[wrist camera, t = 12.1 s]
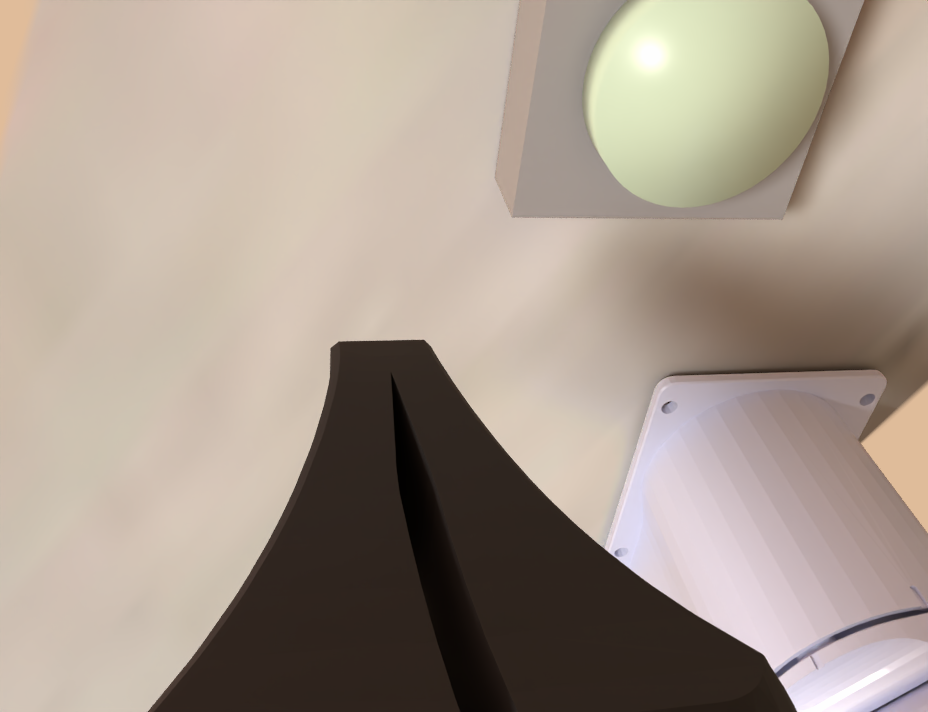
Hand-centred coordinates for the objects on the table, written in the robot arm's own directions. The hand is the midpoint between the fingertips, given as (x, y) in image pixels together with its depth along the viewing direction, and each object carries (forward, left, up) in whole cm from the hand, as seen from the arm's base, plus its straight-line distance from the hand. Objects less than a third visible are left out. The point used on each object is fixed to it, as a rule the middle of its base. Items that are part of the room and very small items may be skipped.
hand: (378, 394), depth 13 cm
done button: (+2, -8, -9) cm, 12 cm away
